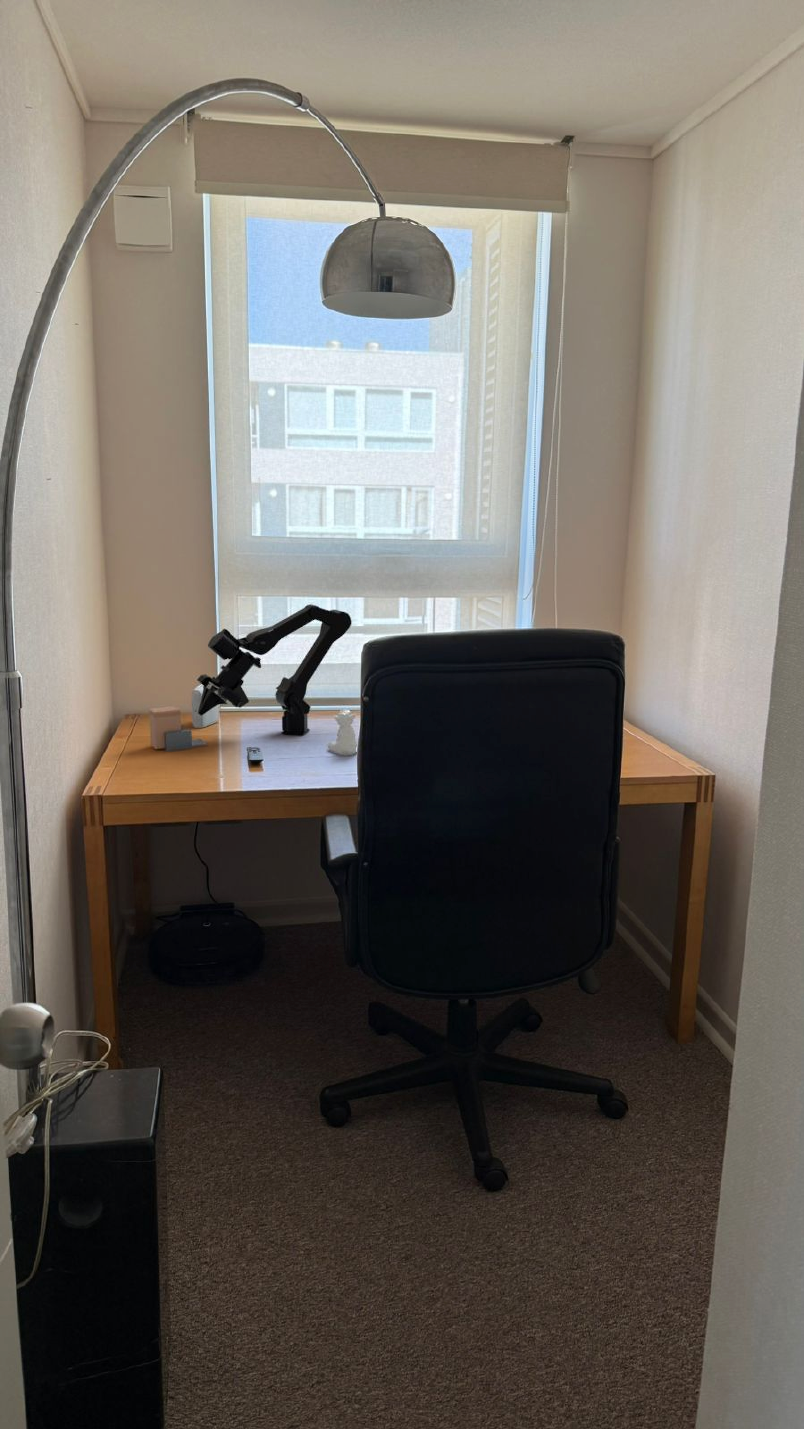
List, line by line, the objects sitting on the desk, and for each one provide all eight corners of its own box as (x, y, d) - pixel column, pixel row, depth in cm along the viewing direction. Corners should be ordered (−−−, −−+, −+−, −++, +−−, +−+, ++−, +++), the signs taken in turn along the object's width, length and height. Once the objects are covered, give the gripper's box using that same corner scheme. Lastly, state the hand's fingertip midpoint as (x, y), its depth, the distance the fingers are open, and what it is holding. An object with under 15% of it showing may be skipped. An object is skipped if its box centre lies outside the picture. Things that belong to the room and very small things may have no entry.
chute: (198, 739, 267) (198, 722, 266) (208, 746, 260) (207, 728, 259) (157, 744, 262) (157, 726, 261) (166, 751, 255) (165, 733, 254)
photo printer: (203, 729, 280) (201, 687, 277) (190, 727, 282) (188, 686, 279) (221, 721, 290) (220, 681, 287) (208, 720, 291) (207, 680, 288)
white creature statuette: (362, 748, 261) (362, 705, 258) (365, 756, 252) (366, 712, 250) (327, 749, 259) (327, 706, 257) (330, 757, 251) (329, 713, 248)
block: (176, 741, 263) (175, 706, 260) (182, 746, 258) (180, 709, 256) (150, 744, 259) (149, 708, 257) (155, 749, 255) (154, 712, 253)
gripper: (269, 695, 261) (233, 740, 259) (241, 680, 276) (207, 722, 274) (241, 670, 255) (204, 716, 252) (214, 656, 270) (179, 699, 267)
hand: (199, 714), depth 262 cm, fingers closed
